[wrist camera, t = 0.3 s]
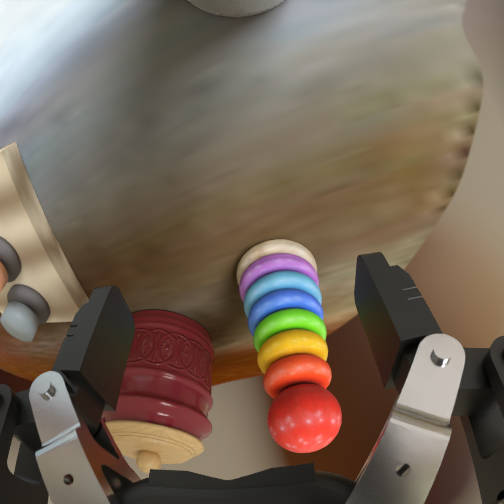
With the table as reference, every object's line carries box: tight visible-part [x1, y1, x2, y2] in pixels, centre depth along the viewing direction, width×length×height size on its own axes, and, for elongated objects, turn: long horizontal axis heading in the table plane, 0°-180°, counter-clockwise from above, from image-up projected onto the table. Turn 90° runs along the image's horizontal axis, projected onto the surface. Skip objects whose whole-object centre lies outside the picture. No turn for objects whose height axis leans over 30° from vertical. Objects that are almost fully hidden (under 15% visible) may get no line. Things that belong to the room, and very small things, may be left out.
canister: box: [102, 310, 214, 473], centre depth 33 cm, size 13×13×18 cm
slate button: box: [0, 301, 39, 342], centre depth 29 cm, size 5×5×2 cm
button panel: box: [0, 142, 89, 325], centre depth 28 cm, size 21×14×3 cm, turn 7°
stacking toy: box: [237, 239, 342, 453], centre depth 25 cm, size 8×8×19 cm
